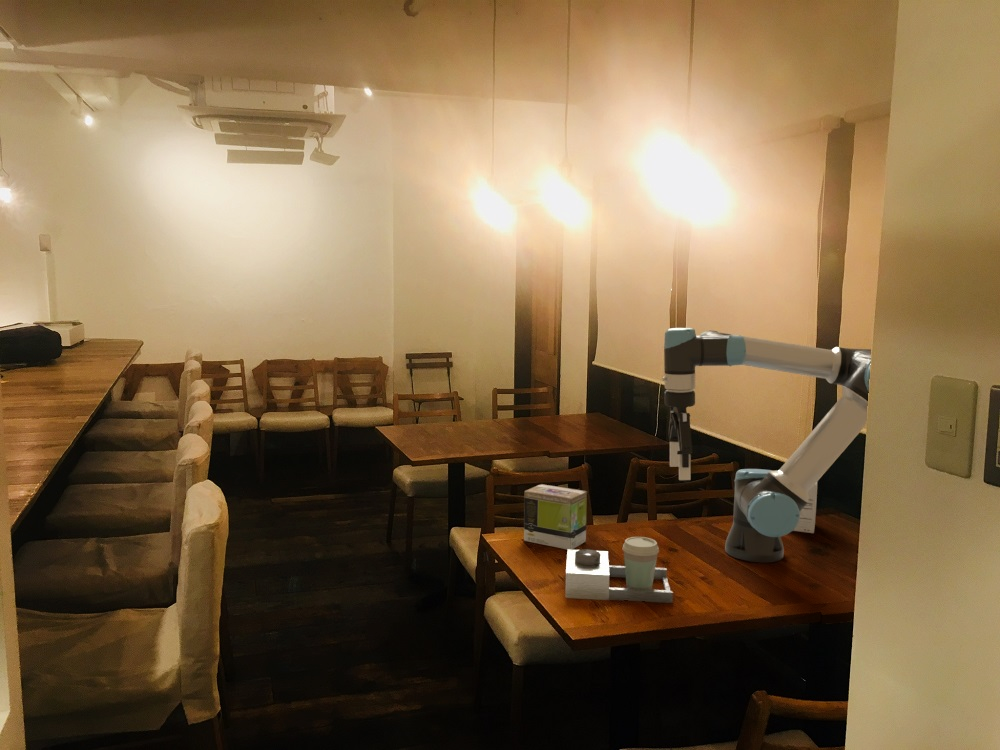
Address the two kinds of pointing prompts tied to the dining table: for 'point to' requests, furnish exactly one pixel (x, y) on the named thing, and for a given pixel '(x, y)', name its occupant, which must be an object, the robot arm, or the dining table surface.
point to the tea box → (555, 516)
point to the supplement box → (808, 513)
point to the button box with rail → (606, 579)
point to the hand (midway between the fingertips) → (679, 473)
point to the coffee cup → (640, 562)
